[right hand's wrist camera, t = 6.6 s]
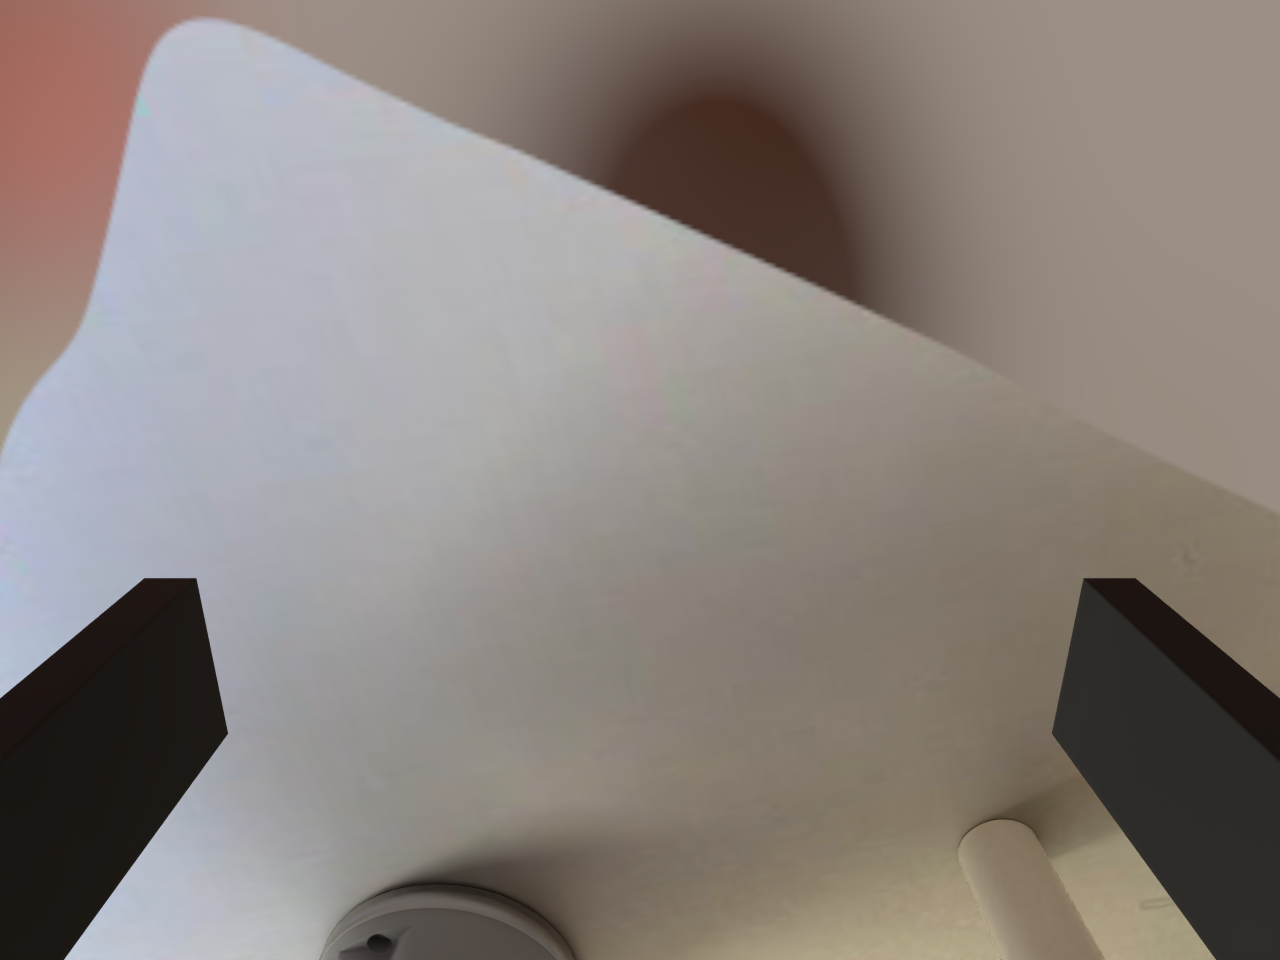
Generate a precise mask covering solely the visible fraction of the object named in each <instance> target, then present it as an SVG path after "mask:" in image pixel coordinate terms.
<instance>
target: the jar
mask: <svg viewBox="0 0 1280 960" xmlns="http://www.w3.org/2000/svg"><path fill="white" fill-rule="evenodd" d="M957 857H958V862H959V864H960V867H961V869H962V871H963V874H964V876H965V878H966V881H967V883H968V885H969V888H970V890H971V892H972V895H973V897H974V899H975V901H976V904H977V906H978V908H979V911H980V913H981V915H982V918H983V920H984V922H985V925H986V927H987V929H988V932H989V934H990V936H991V938H992V941H993V943H994V945H995V948H996V950H997V952H998V955H999V957H1000V959H1001V960H1105V958H1104V956H1103V954H1102V952H1101V951H1100V949H1099V947H1098V945H1097V944H1096V942H1095V940H1094V938H1093V936H1092V935H1091V933H1090V931H1089V929H1088V927H1087V926H1086V924H1085V922H1084V920H1083V919H1082V917H1081V915H1080V913H1079V911H1078V910H1077V908H1076V906H1075V904H1074V903H1073V901H1072V899H1071V897H1070V895H1069V894H1068V892H1067V890H1066V888H1065V887H1064V885H1063V883H1062V881H1061V879H1060V878H1059V876H1058V874H1057V872H1056V871H1055V869H1054V867H1053V865H1052V863H1051V862H1050V860H1049V858H1048V856H1047V854H1046V853H1045V851H1044V849H1043V847H1042V846H1041V844H1040V842H1039V840H1038V838H1037V837H1036V835H1035V833H1034V832H1033V831H1032V830H1031V829H1030V828H1029V827H1027V826H1026V825H1024V824H1022V823H1020V822H1017V821H1013V820H1006V819H1001V820H993V821H988V822H985V823H983V824H980V825H978V826H977V827H975V828H973V829H972V830H971V831H969V832H968V833H967V834H966V835H965V836H964V838H963V839H962V841H961V842H960V845H959V848H958V853H957Z"/></svg>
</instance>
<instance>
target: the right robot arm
mask: <svg viewBox="0 0 1280 960" xmlns="http://www.w3.org/2000/svg"><path fill="white" fill-rule="evenodd" d="M227 734H228V731H227V726H226V721H225V716H224V711H223V707H222V702H221V697H220V692H219V687H218V682H217V677H216V672H215V667H214V662H213V658H212V653H211V648H210V643H209V638H208V633H207V628H206V623H205V618H204V614H203V609H202V604H201V599H200V594H199V589H198V584H197V579H196V578H144V579H143V580H142V581H141V582H140V583H138V584H137V585H136V586H135V587H134V588H132V589H131V590H130V591H129V592H128V593H126V594H125V595H124V596H123V597H122V598H120V599H119V600H118V601H117V602H116V603H114V604H113V605H112V606H111V607H110V608H108V609H107V610H106V611H105V612H104V613H102V614H101V615H100V616H99V617H98V618H96V619H95V620H94V621H93V622H91V623H90V624H89V625H88V626H87V627H85V628H84V629H83V630H82V631H81V632H79V633H78V634H77V635H76V636H75V637H73V638H72V639H71V640H70V641H69V642H67V643H66V644H65V645H64V646H63V647H61V648H60V649H59V650H58V651H57V652H55V653H54V654H53V655H52V656H51V657H49V658H48V659H47V660H46V661H45V662H43V663H42V664H41V665H40V666H39V667H37V668H36V669H35V670H34V671H33V672H31V673H30V674H29V675H28V676H27V677H25V678H24V679H23V680H22V681H21V682H19V683H18V684H17V685H16V686H15V687H13V688H12V689H11V690H10V691H9V692H7V693H6V694H5V695H4V696H3V697H1V698H0V960H64V959H65V957H66V956H67V955H68V953H69V952H70V951H71V949H72V948H73V946H74V945H75V944H76V942H77V941H78V940H79V938H80V937H81V935H82V934H83V933H84V931H85V930H86V929H87V927H88V926H89V924H90V923H91V922H92V920H93V919H94V918H95V916H96V915H97V913H98V912H99V911H100V909H101V908H102V907H103V905H104V904H105V902H106V901H107V900H108V898H109V897H110V895H111V894H112V893H113V891H114V890H115V889H116V887H117V886H118V884H119V883H120V882H121V880H122V879H123V878H124V876H125V875H126V873H127V872H128V871H129V869H130V868H131V867H132V865H133V864H134V862H135V861H136V860H137V858H138V857H139V856H140V854H141V853H142V851H143V850H144V849H145V847H146V846H147V844H148V843H149V842H150V840H151V839H152V838H153V836H154V835H155V833H156V832H157V831H158V829H159V828H160V827H161V825H162V824H163V822H164V821H165V820H166V818H167V817H168V816H169V814H170V813H171V811H172V810H173V809H174V807H175V806H176V805H177V803H178V802H179V800H180V799H181V798H182V796H183V795H184V794H185V792H186V791H187V789H188V788H189V787H190V785H191V784H192V782H193V781H194V780H195V778H196V777H197V776H198V774H199V773H200V771H201V770H202V769H203V767H204V766H205V765H206V763H207V762H208V760H209V759H210V758H211V756H212V755H213V754H214V752H215V751H216V749H217V748H218V747H219V745H220V744H221V743H222V741H223V740H224V738H225V737H226V736H227ZM1052 734H1053V736H1054V737H1055V738H1056V740H1057V741H1058V743H1059V744H1060V745H1061V747H1062V748H1063V749H1064V751H1065V752H1066V754H1067V755H1068V756H1069V758H1070V759H1071V760H1072V762H1073V763H1074V765H1075V766H1076V767H1077V769H1078V770H1079V771H1080V773H1081V774H1082V776H1083V777H1084V778H1085V780H1086V781H1087V782H1088V784H1089V785H1090V787H1091V788H1092V789H1093V791H1094V792H1095V794H1096V795H1097V796H1098V798H1099V799H1100V800H1101V802H1102V803H1103V805H1104V806H1105V807H1106V809H1107V810H1108V811H1109V813H1110V814H1111V816H1112V817H1113V818H1114V820H1115V821H1116V822H1117V824H1118V825H1119V827H1120V828H1121V829H1122V831H1123V832H1124V833H1125V835H1126V836H1127V838H1128V839H1129V840H1130V842H1131V843H1132V844H1133V846H1134V847H1135V849H1136V850H1137V851H1138V853H1139V854H1140V856H1141V857H1142V858H1143V860H1144V861H1145V862H1146V864H1147V865H1148V867H1149V868H1150V869H1151V871H1152V872H1153V873H1154V875H1155V876H1156V878H1157V879H1158V880H1159V882H1160V883H1161V884H1162V886H1163V887H1164V889H1165V890H1166V891H1167V893H1168V894H1169V895H1170V897H1171V898H1172V900H1173V901H1174V902H1175V904H1176V905H1177V906H1178V908H1179V909H1180V911H1181V912H1182V913H1183V915H1184V916H1185V918H1186V919H1187V920H1188V922H1189V923H1190V924H1191V926H1192V927H1193V929H1194V930H1195V931H1196V933H1197V934H1198V935H1199V937H1200V938H1201V940H1202V941H1203V942H1204V944H1205V945H1206V946H1207V948H1208V949H1209V951H1210V952H1211V953H1212V955H1213V956H1214V957H1215V959H1216V960H1280V698H1279V697H1277V696H1276V695H1275V694H1274V693H1273V692H1271V691H1270V690H1269V689H1268V688H1267V687H1265V686H1264V685H1263V684H1262V683H1261V682H1259V681H1258V680H1257V679H1256V678H1255V677H1253V676H1252V675H1251V674H1250V673H1249V672H1247V671H1246V670H1245V669H1244V668H1243V667H1241V666H1240V665H1239V664H1238V663H1237V662H1235V661H1234V660H1233V659H1232V658H1231V657H1229V656H1228V655H1227V654H1226V653H1225V652H1223V651H1222V650H1221V649H1220V648H1219V647H1217V646H1216V645H1215V644H1214V643H1213V642H1211V641H1210V640H1209V639H1208V638H1207V637H1205V636H1204V635H1203V634H1202V633H1201V632H1199V631H1198V630H1197V629H1196V628H1195V627H1193V626H1192V625H1191V624H1190V623H1189V622H1187V621H1186V620H1185V619H1184V618H1182V617H1181V616H1180V615H1179V614H1178V613H1176V612H1175V611H1174V610H1173V609H1172V608H1170V607H1169V606H1168V605H1167V604H1166V603H1164V602H1163V601H1162V600H1161V599H1160V598H1158V597H1157V596H1156V595H1155V594H1154V593H1152V592H1151V591H1150V590H1149V589H1148V588H1146V587H1145V586H1144V585H1143V584H1142V583H1140V582H1139V581H1138V580H1137V579H1136V578H1084V579H1083V584H1082V589H1081V594H1080V599H1079V604H1078V609H1077V614H1076V618H1075V623H1074V628H1073V633H1072V638H1071V643H1070V648H1069V653H1068V658H1067V662H1066V667H1065V672H1064V677H1063V682H1062V687H1061V692H1060V697H1059V702H1058V707H1057V711H1056V716H1055V721H1054V726H1053V731H1052ZM320 960H575V959H574V957H573V955H572V953H571V951H570V949H569V947H568V946H567V944H566V943H565V941H564V940H563V939H562V937H561V936H560V935H559V934H558V933H557V931H556V930H555V929H554V928H553V927H552V926H551V925H550V924H548V923H547V922H546V921H545V920H544V919H543V918H541V917H540V916H539V915H537V914H536V913H534V912H533V911H531V910H530V909H528V908H526V907H525V906H523V905H521V904H519V903H517V902H515V901H513V900H511V899H509V898H506V897H504V896H501V895H498V894H495V893H492V892H489V891H486V890H481V889H477V888H473V887H466V886H460V885H448V884H429V885H417V886H410V887H405V888H400V889H396V890H393V891H389V892H386V893H383V894H381V895H378V896H376V897H373V898H371V899H369V900H368V901H366V902H364V903H362V904H361V905H359V906H358V907H356V908H355V909H353V910H352V911H351V912H349V913H348V914H347V915H346V916H345V917H344V918H343V919H342V920H341V921H340V922H339V923H338V924H337V926H336V927H335V928H334V930H333V931H332V933H331V935H330V936H329V938H328V940H327V943H326V945H325V947H324V950H323V952H322V955H321V957H320Z"/></svg>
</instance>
